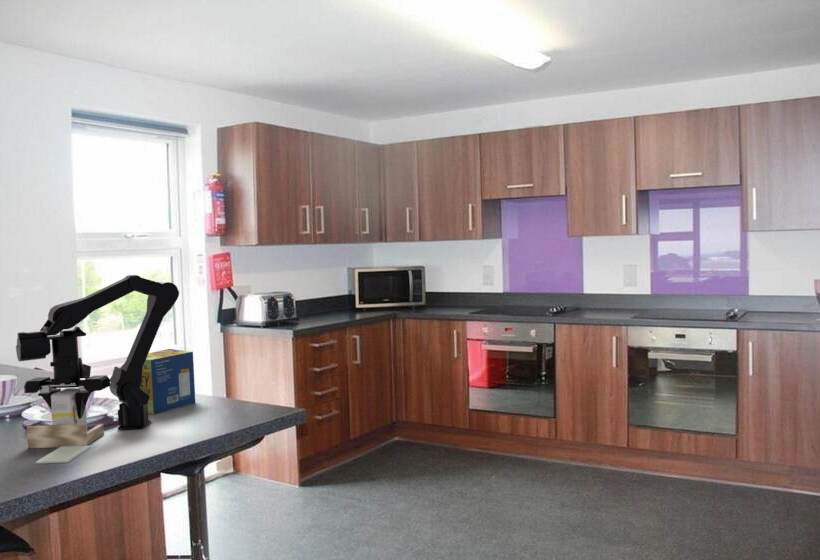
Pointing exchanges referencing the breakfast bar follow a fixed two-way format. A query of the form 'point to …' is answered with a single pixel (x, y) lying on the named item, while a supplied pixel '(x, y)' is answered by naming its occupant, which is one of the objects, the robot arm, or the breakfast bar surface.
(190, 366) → the protein box
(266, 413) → the breakfast bar surface
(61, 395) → the ink box
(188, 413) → the breakfast bar surface
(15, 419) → the breakfast bar surface
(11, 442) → the breakfast bar surface
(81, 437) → the shelf bay
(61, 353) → the robot arm
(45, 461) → the coaster pad
